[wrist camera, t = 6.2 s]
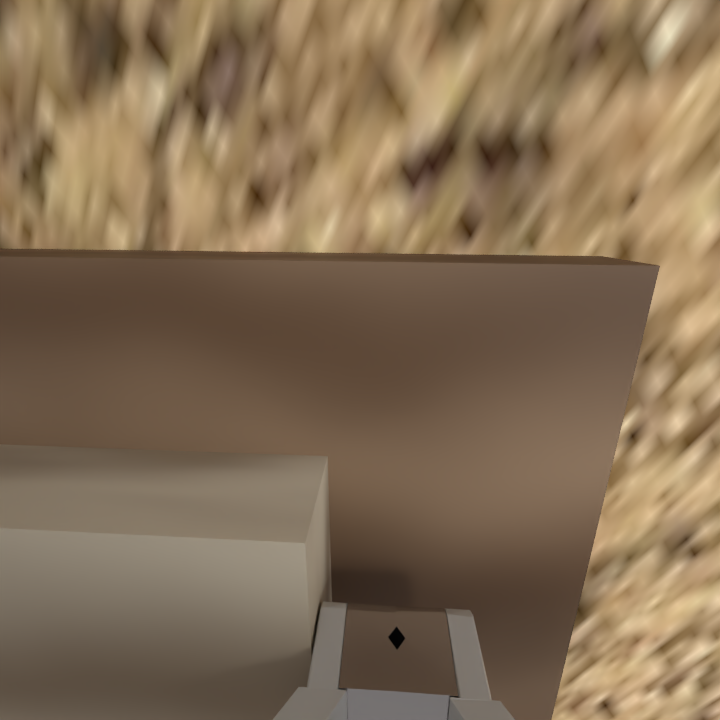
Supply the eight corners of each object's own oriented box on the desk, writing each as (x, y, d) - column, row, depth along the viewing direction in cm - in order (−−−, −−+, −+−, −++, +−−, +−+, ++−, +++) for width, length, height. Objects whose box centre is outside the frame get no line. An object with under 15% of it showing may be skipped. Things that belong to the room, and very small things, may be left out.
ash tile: (-24, 443, 9) (-166, 520, 7) (327, 456, 9) (305, 542, 6) (42, 636, 11) (-50, 748, 9) (333, 656, 11) (318, 779, 8)
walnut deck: (-78, 247, 10) (-189, 253, 8) (602, 256, 9) (659, 265, 7) (55, 658, 14) (5, 723, 13) (518, 692, 13) (539, 769, 12)
